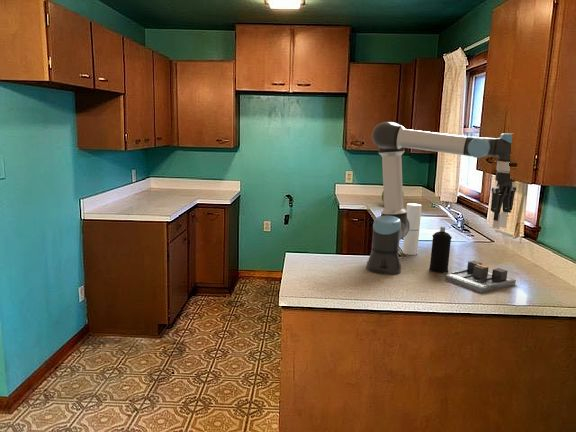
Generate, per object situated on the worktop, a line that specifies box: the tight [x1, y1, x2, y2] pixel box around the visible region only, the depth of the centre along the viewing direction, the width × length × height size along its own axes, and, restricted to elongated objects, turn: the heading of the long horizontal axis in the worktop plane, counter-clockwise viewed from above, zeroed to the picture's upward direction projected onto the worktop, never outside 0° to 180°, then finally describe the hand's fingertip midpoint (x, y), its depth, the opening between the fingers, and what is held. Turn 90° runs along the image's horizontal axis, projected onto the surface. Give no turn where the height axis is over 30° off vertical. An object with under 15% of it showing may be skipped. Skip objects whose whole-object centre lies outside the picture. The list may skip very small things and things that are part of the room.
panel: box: [444, 260, 517, 294], centre depth 195 cm, size 22×18×6 cm
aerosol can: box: [428, 226, 452, 274], centre depth 208 cm, size 8×8×20 cm
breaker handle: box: [473, 264, 489, 279], centre depth 195 cm, size 4×4×5 cm
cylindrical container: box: [402, 202, 422, 256], centre depth 236 cm, size 7×7×25 cm
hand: (499, 227), depth 196 cm, fingers open, 4 cm apart
